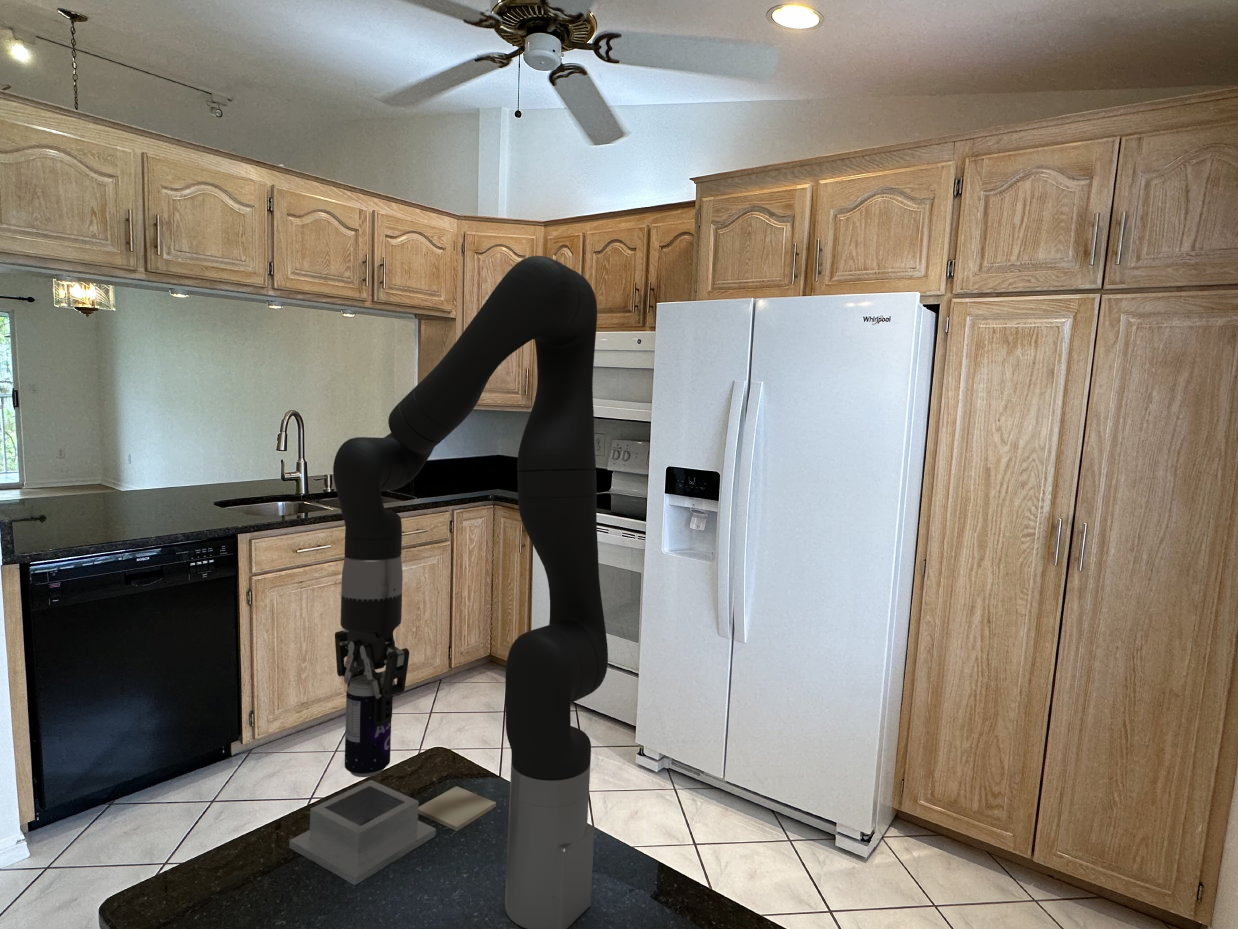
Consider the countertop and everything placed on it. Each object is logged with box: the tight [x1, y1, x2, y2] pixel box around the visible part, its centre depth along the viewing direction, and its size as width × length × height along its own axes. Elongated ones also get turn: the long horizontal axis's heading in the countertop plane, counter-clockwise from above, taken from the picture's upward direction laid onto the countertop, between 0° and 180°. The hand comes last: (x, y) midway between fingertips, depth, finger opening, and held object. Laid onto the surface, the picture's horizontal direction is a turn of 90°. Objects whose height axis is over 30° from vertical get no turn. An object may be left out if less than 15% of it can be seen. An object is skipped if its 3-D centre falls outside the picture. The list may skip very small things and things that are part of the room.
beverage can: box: [344, 674, 392, 778], centre depth 93 cm, size 6×6×12 cm
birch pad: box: [418, 785, 497, 832], centre depth 103 cm, size 8×8×1 cm
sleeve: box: [288, 779, 437, 886], centre depth 94 cm, size 13×13×5 cm
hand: (368, 717), depth 93 cm, fingers closed on beverage can, 5 cm apart
